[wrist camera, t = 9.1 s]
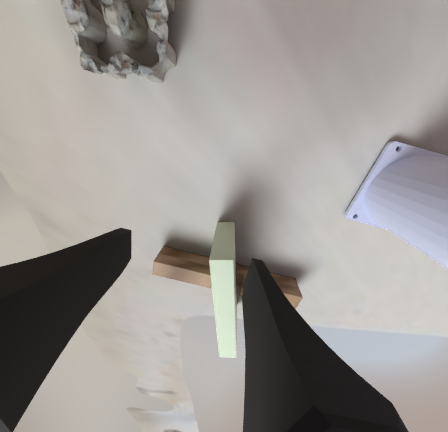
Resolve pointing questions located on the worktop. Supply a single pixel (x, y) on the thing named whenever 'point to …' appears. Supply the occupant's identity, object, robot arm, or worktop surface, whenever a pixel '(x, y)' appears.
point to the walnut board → (200, 274)
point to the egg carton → (120, 35)
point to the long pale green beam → (224, 288)
